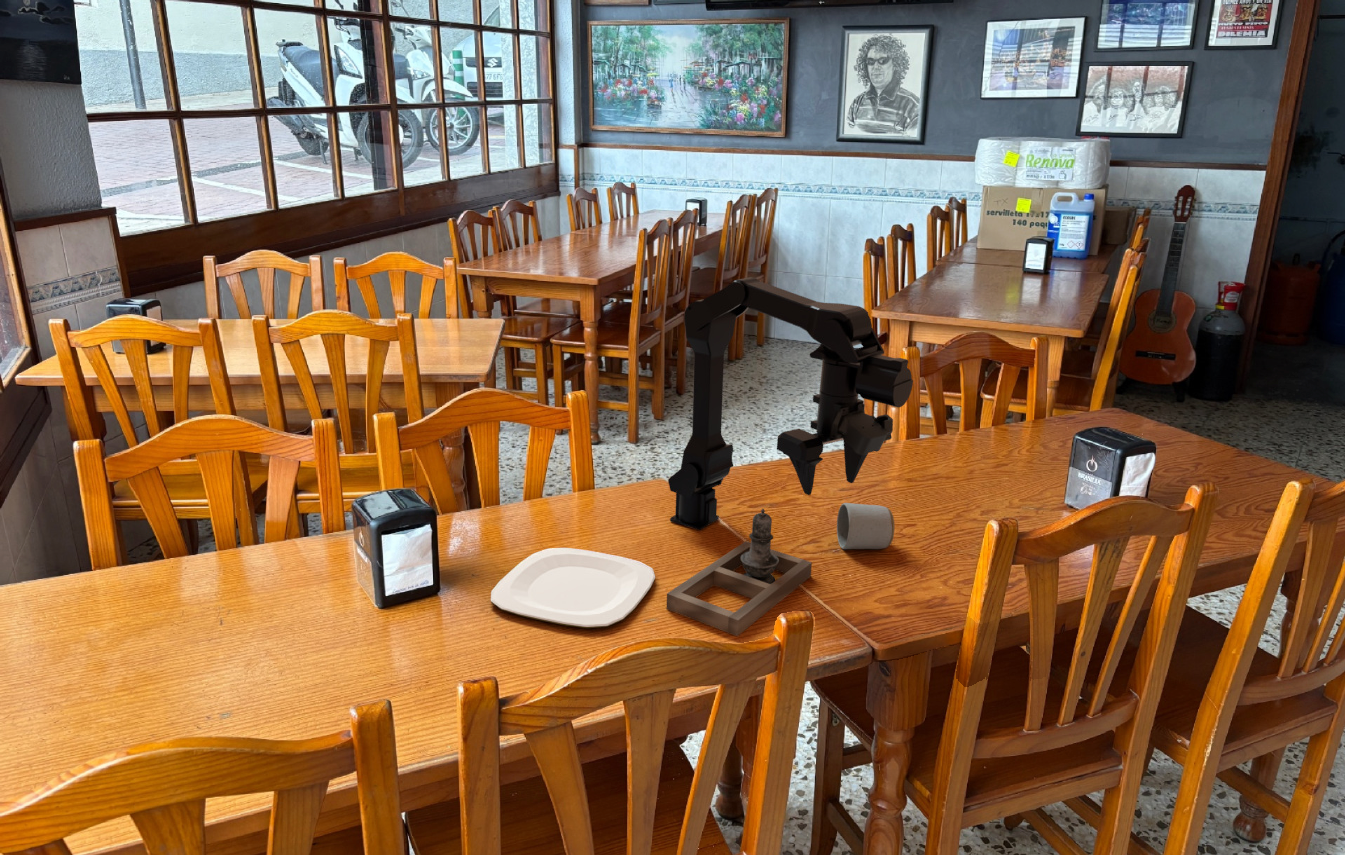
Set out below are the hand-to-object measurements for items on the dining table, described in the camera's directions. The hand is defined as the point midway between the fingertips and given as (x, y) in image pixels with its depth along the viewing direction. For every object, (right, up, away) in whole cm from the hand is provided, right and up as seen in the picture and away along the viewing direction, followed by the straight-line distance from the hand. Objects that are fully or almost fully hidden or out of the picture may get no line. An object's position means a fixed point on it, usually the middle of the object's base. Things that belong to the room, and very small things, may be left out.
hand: (829, 488), depth 142 cm
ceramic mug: (+7, -11, +14) cm, 19 cm away
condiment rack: (-14, -15, -3) cm, 21 cm away
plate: (-39, -16, -4) cm, 42 cm away
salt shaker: (-11, -14, +1) cm, 18 cm away
